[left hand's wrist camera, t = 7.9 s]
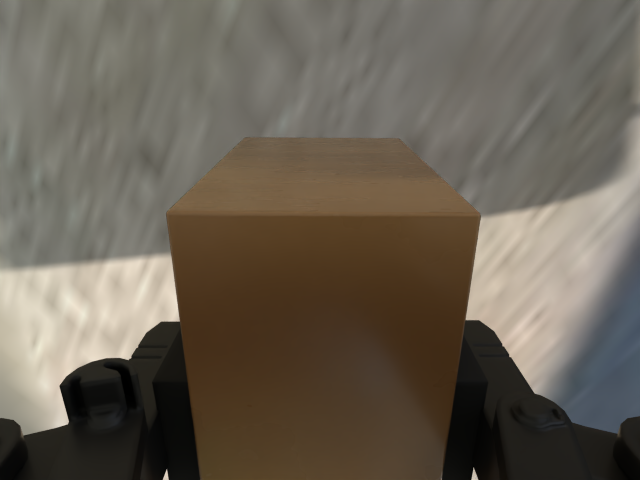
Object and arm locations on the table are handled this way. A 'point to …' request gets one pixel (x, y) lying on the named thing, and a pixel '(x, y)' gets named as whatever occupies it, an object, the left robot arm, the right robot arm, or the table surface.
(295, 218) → the plank
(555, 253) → the table surface
